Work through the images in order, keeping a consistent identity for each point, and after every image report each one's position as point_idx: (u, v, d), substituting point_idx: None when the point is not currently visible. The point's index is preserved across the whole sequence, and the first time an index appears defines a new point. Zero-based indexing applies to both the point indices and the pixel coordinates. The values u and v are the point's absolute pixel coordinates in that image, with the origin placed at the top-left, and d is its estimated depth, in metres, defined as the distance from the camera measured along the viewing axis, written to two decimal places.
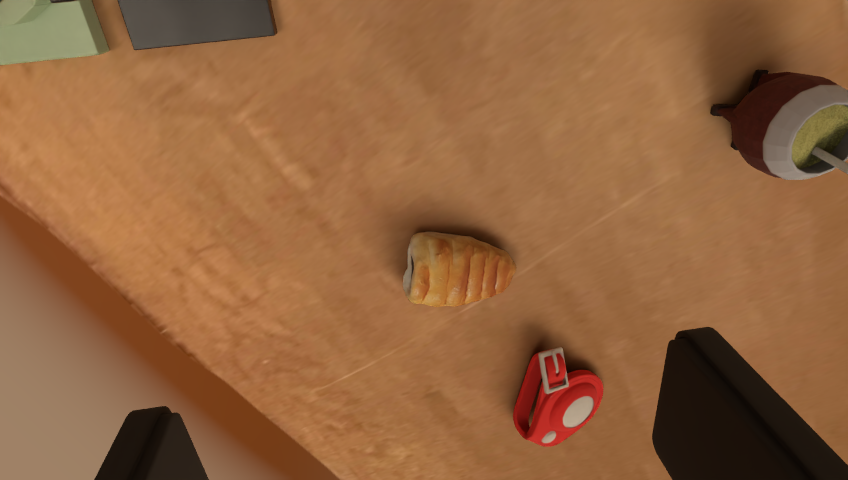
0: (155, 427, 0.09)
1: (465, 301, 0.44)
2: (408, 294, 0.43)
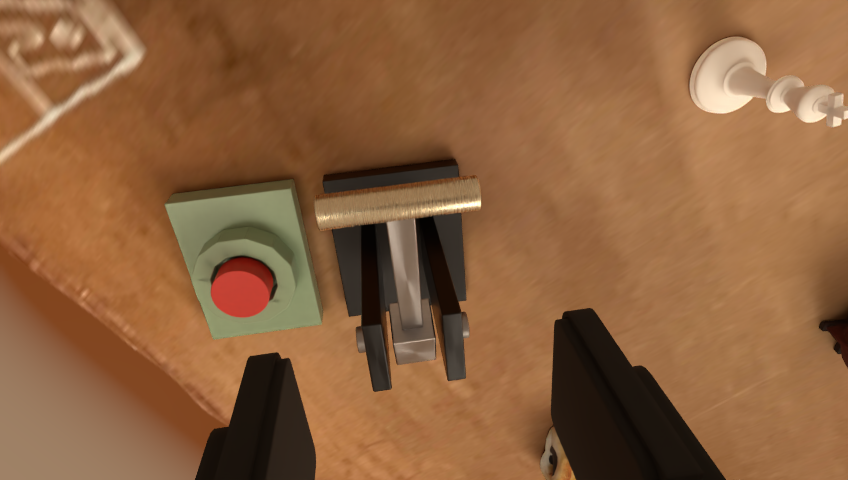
0: (274, 369, 0.10)
1: None
2: (548, 478, 0.49)
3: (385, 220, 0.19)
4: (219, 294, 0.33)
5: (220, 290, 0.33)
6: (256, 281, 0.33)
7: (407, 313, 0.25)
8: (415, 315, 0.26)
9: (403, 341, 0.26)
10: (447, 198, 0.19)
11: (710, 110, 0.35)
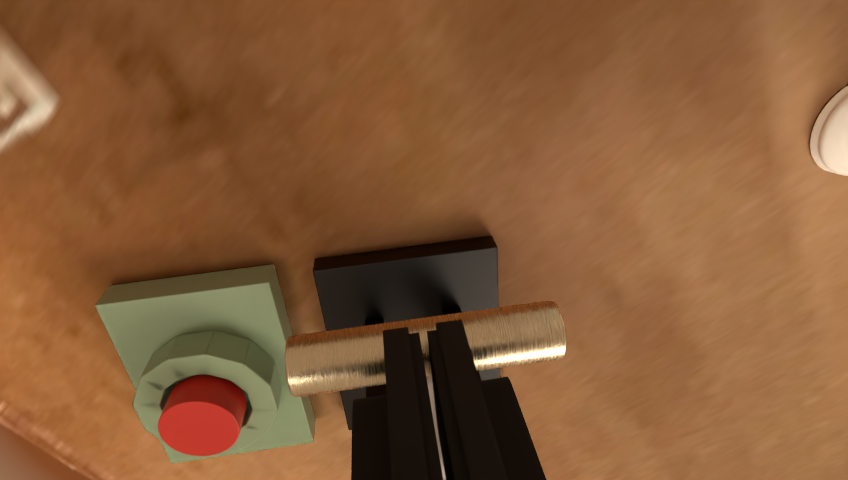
0: (410, 342, 0.10)
1: None
2: None
3: None
4: (170, 430, 0.24)
5: (170, 425, 0.24)
6: (221, 413, 0.24)
7: None
8: None
9: None
10: (509, 342, 0.11)
11: (837, 172, 0.26)
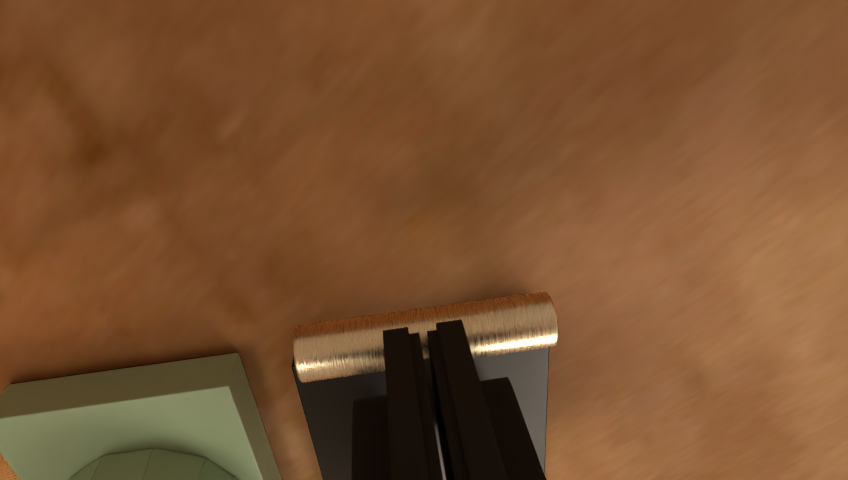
0: (410, 342, 0.10)
1: None
2: None
3: None
4: None
5: None
6: None
7: None
8: None
9: None
10: (500, 308, 0.12)
11: None
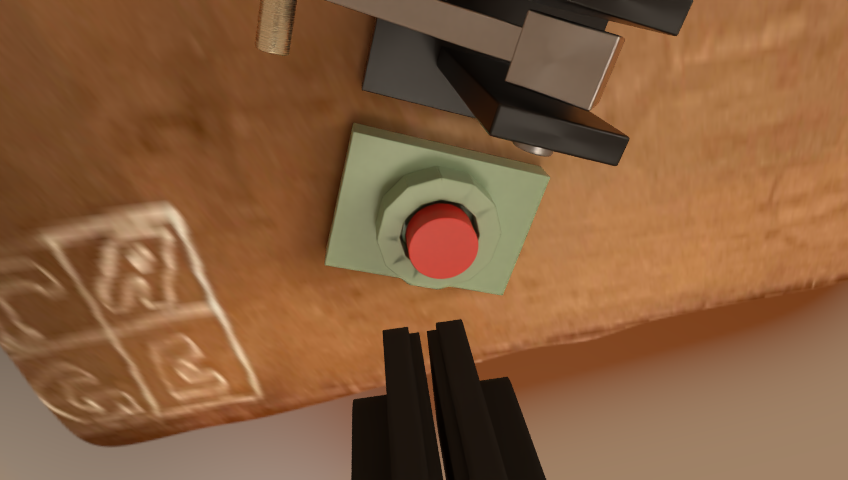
0: (410, 342, 0.10)
1: None
2: None
3: None
4: (432, 268, 0.27)
5: (427, 266, 0.27)
6: (434, 225, 0.26)
7: (468, 35, 0.17)
8: (480, 26, 0.17)
9: None
10: None
11: None
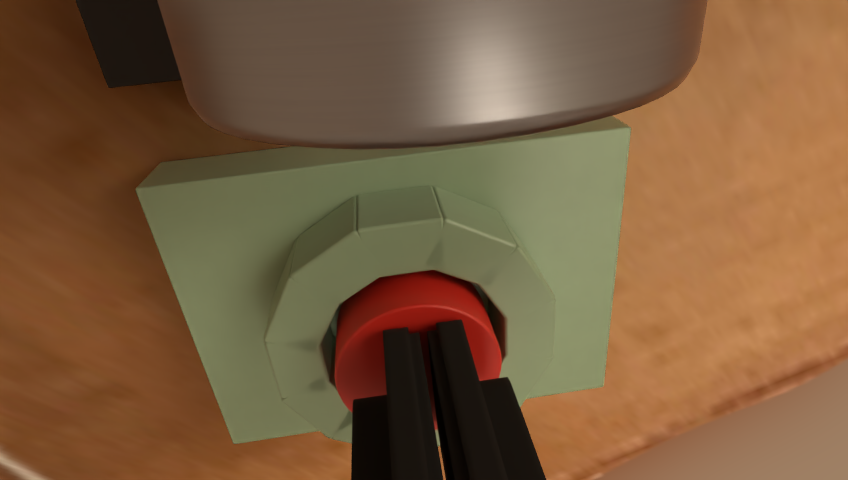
0: (410, 342, 0.10)
1: None
2: None
3: None
4: None
5: None
6: (373, 335, 0.10)
7: None
8: None
9: None
10: None
11: None
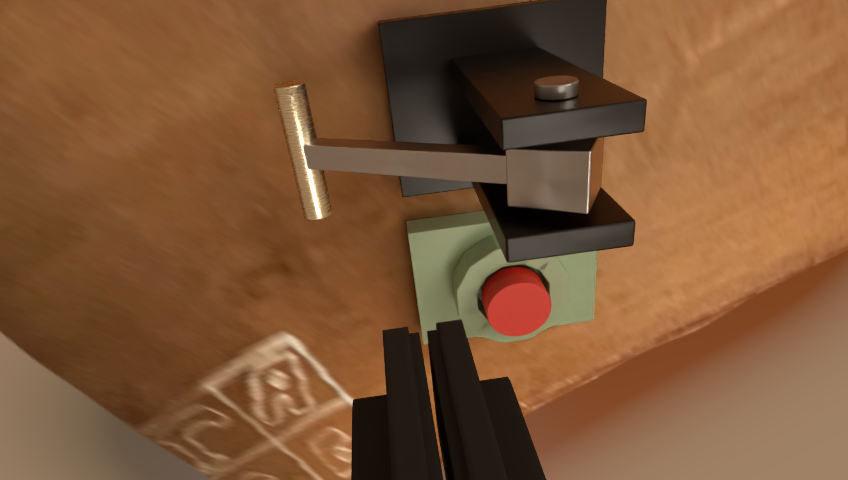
0: (410, 342, 0.10)
1: None
2: None
3: (300, 170, 0.23)
4: (515, 329, 0.29)
5: (510, 328, 0.29)
6: (503, 294, 0.28)
7: (465, 172, 0.19)
8: (472, 162, 0.19)
9: (507, 192, 0.18)
10: None
11: None
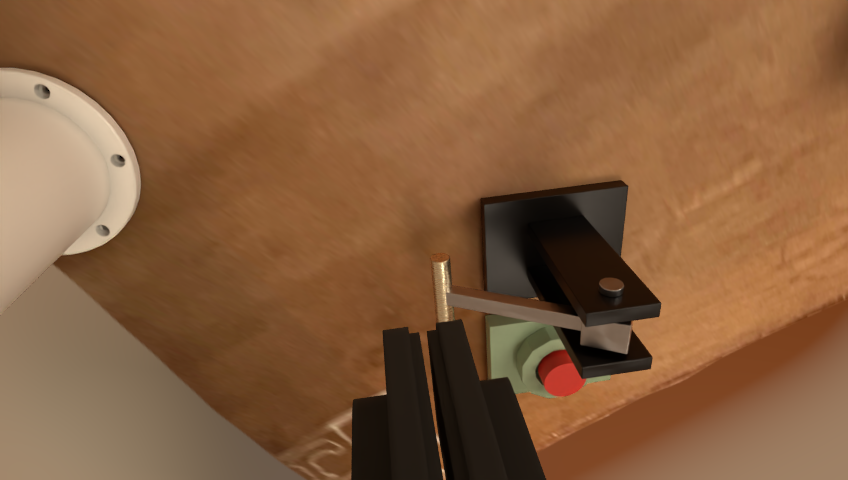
0: (410, 342, 0.10)
1: None
2: None
3: (442, 306, 0.36)
4: (562, 391, 0.43)
5: (558, 391, 0.43)
6: (556, 370, 0.42)
7: (553, 321, 0.33)
8: (559, 317, 0.33)
9: (580, 337, 0.32)
10: (432, 275, 0.35)
11: None
